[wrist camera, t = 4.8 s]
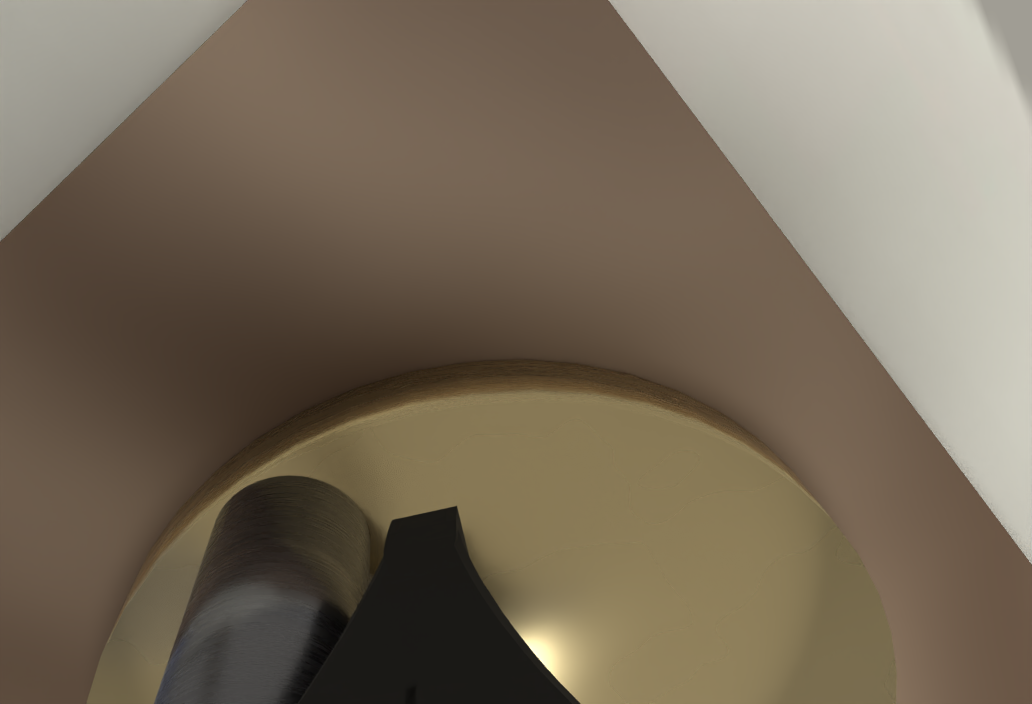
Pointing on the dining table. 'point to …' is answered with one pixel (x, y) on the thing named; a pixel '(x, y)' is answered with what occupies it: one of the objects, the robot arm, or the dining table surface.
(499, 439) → the dial
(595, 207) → the walnut stand
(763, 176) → the dining table surface
